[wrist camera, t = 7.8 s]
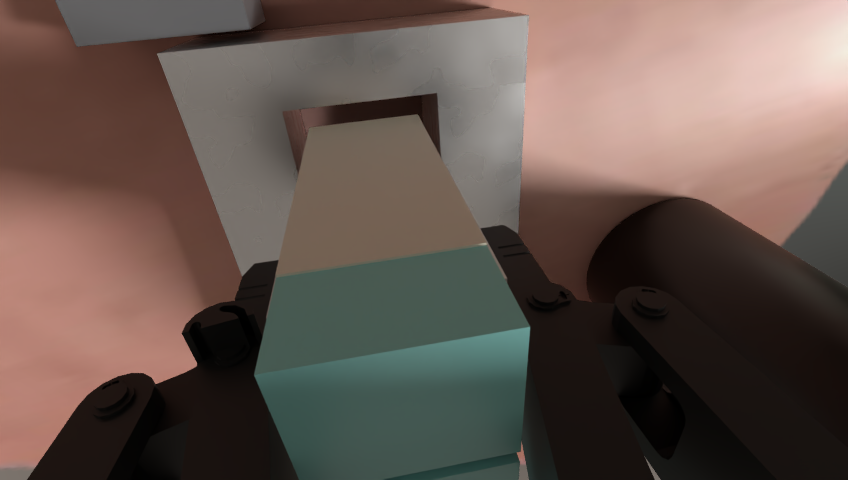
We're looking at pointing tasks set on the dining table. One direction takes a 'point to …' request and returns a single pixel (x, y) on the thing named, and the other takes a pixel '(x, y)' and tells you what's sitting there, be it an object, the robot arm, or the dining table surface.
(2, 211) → the dining table surface
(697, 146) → the dining table surface
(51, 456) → the robot arm
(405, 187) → the plug
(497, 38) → the panel
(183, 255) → the dining table surface
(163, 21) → the pair of grey blocks
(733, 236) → the water bottle
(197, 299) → the dining table surface
